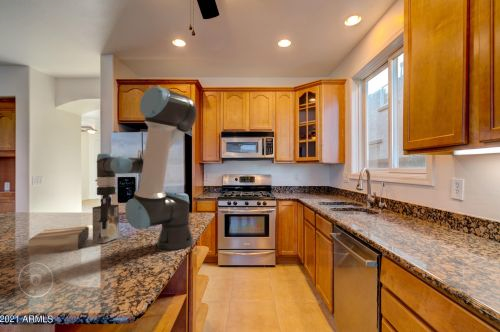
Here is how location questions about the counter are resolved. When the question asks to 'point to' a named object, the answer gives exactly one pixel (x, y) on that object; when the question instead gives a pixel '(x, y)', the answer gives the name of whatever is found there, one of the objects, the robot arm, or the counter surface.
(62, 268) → the counter surface
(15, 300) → the counter surface
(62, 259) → the counter surface
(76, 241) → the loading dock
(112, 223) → the coffee box
